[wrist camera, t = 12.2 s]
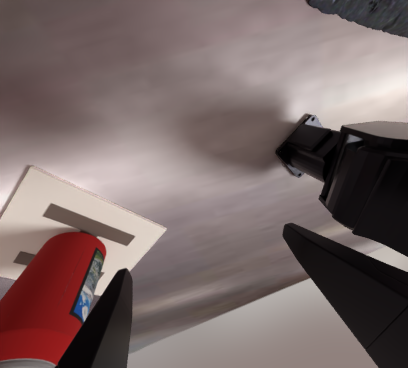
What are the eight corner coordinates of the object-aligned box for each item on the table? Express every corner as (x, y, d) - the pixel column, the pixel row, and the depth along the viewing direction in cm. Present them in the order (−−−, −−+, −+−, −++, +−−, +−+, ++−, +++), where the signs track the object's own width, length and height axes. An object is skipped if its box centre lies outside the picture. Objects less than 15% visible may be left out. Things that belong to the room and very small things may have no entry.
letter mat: (166, 227, 24) (166, 230, 24) (107, 294, 27) (106, 297, 27) (32, 165, 17) (29, 167, 16) (-27, 267, 20) (-31, 271, 19)
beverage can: (90, 271, 24) (39, 406, 13) (34, 255, 20) (-91, 417, 10) (118, 240, 22) (86, 362, 12) (64, 218, 19) (-44, 359, 9)
